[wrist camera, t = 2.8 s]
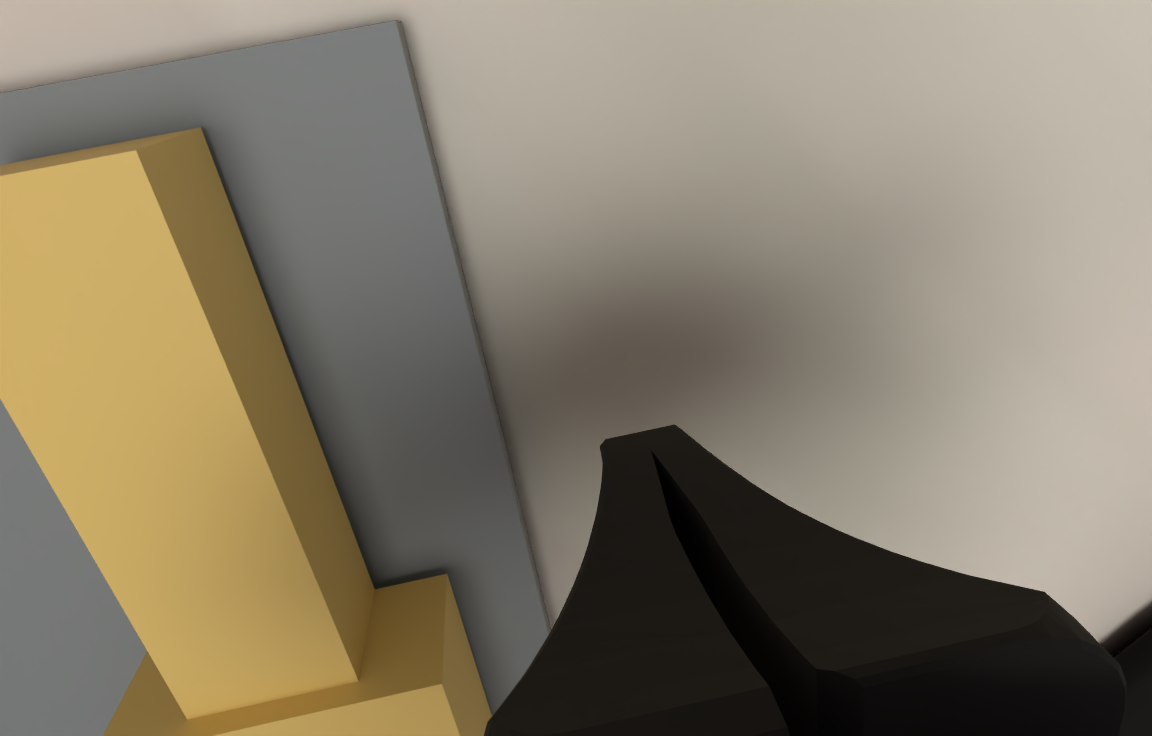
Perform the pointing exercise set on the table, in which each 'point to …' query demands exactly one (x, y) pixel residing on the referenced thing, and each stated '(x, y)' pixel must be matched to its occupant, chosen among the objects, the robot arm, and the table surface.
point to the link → (203, 463)
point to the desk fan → (1137, 686)
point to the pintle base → (294, 354)
